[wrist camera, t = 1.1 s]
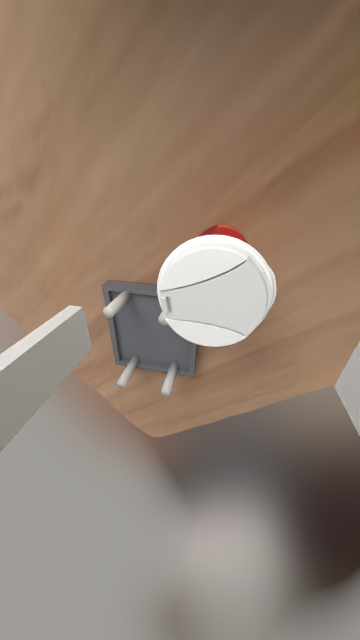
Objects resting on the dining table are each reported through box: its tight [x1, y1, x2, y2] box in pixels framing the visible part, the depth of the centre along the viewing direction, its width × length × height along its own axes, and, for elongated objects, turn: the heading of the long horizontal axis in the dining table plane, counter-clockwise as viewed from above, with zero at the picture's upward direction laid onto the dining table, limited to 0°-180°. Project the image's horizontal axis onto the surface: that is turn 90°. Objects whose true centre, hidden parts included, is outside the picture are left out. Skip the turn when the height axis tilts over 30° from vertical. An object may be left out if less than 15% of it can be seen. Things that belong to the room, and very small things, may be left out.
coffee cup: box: [157, 225, 276, 347], centre depth 21 cm, size 8×8×15 cm
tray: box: [102, 280, 197, 396], centre depth 32 cm, size 15×14×7 cm
